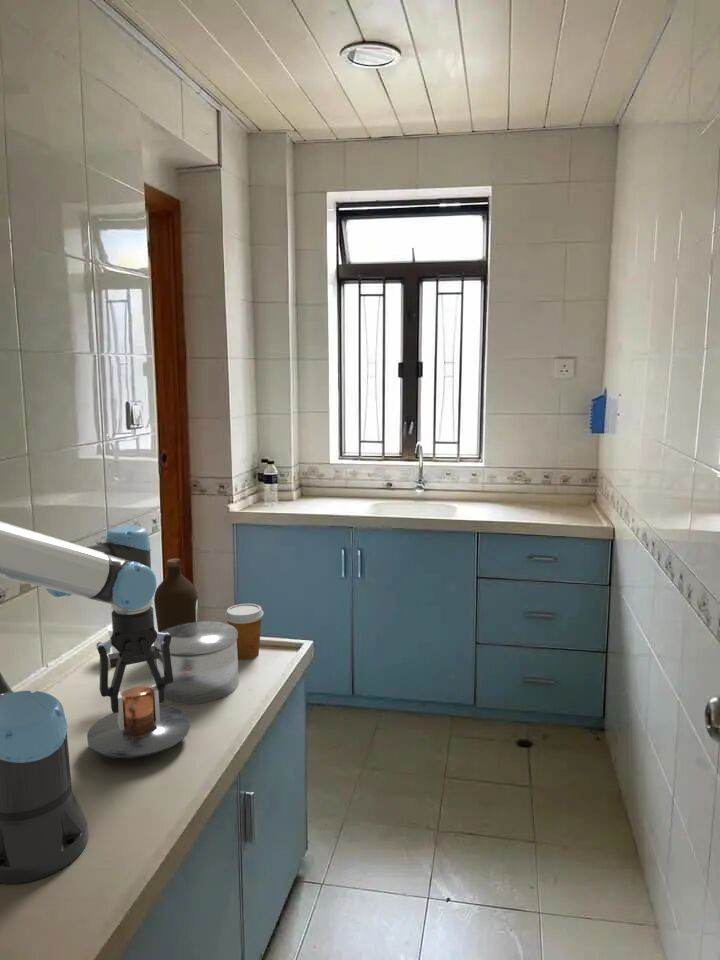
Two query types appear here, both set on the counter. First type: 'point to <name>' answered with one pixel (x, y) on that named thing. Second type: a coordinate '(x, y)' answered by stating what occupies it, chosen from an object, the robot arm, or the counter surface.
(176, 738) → the cooker lid
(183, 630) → the cooker body
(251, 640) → the disposable coffee cup
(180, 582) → the olive oil
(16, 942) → the counter surface
